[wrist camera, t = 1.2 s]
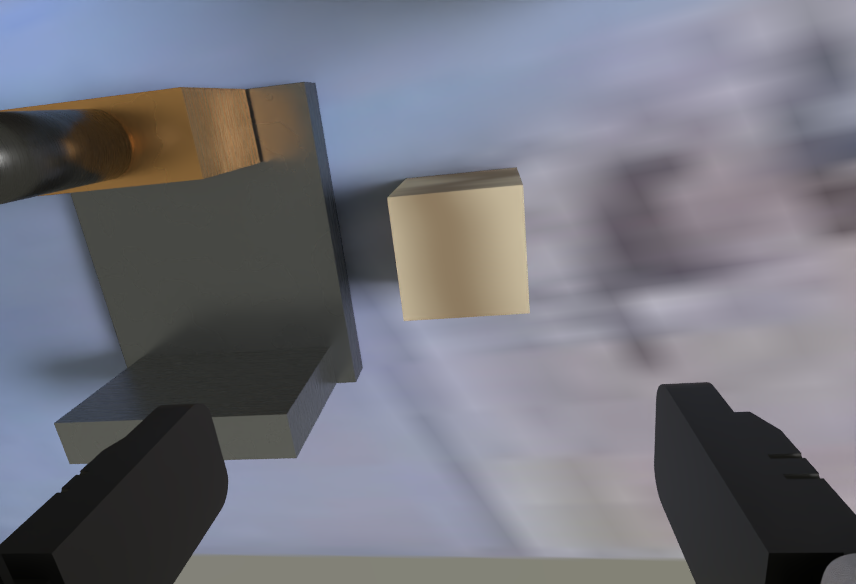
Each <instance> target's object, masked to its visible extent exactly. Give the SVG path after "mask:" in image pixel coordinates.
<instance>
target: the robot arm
mask: <svg viewBox="0 0 856 584" xmlns="http://www.w3.org/2000/svg"><path fill="white" fill-rule="evenodd" d="M654 471H655V479H656V485H657V490H658V494H659V498H660V501H661V503H662V506H663V508H664V511H665V513H666V515H667V517H668V520H669V522H670V524H671V527H672V529H673V531H674V534H675V536H676V538H677V541H678V543H679V545H680V548H681V550H682V552H683V555H684V557H685V559H686V562H687V564H688V566H689V568H690V571H691V573H692V575H693V578H694V580H695V582H696V584H856V515H855V513H854V512H853V511H852V510H851V509H850V508H849V507H848V506H847V504H846V503H845V502H844V501H843V500H842V499H841V498H840V497H839V495H838V494H837V493H836V492H835V491H834V490H833V489H832V488H831V486H830V485H829V484H828V483H827V482H826V481H825V480H824V478H822V479H820V477H819V473H818V472H817V471H816V469H815V468H814V467H813V466H812V465H811V464H810V463H809V462H808V460H807V459H806V458H802V456H801V452H800V451H799V450H798V449H797V448H796V447H795V446H794V445H793V443H792V442H791V441H790V440H789V439H788V438H787V437H786V436H785V434H784V433H783V432H782V431H781V430H780V429H778V428H776V427H775V426H773V425H771V424H769V423H768V422H766V421H764V420H763V419H761V418H759V417H758V416H756V415H754V414H753V413H751V412H733V410H732V409H731V408H730V406H729V405H728V404H727V403H726V401H725V400H724V399H723V398H722V396H721V395H720V394H719V392H718V391H717V390H716V389H715V387H714V386H713V385H712V384H711V383H708V382H703V383H680V384H661V385H660V386H659V387H658V390H657V397H656V424H655V454H654ZM80 472H81V473H80V475H75V476H74V477H73V478H72V479H71V480H70V481H69V482H68V483H67V484H66V485H64V486H63V487H62V491H61V493H56V494H55V495H54V496H52V497H51V498H50V499H49V500H48V501H47V502H46V503H45V504H44V505H43V506H42V507H40V508H39V509H38V510H37V511H36V512H35V513H34V514H33V515H32V516H31V517H30V518H28V519H27V520H26V521H25V522H24V523H23V524H22V525H21V526H20V527H19V528H18V529H16V530H15V531H14V532H13V533H12V534H11V535H10V536H9V537H8V538H7V539H6V540H5V541H3V542H2V543H1V544H0V584H173V583H174V582H175V580H176V579H177V577H178V576H179V574H180V573H181V571H182V569H183V568H184V566H185V565H186V563H187V562H188V560H189V558H190V557H191V556H192V554H193V552H194V551H195V549H196V548H197V546H198V545H199V543H200V542H201V540H202V539H203V537H204V535H205V534H206V532H207V531H208V529H209V528H210V526H211V525H212V523H213V521H214V520H215V518H216V517H217V515H218V514H219V512H220V511H221V509H222V507H223V505H224V503H225V499H226V496H227V490H228V475H227V470H226V467H225V463H224V459H223V456H222V452H221V448H220V445H219V441H218V437H217V434H216V430H215V426H214V423H213V419H212V416H211V413H210V411H209V409H208V408H207V407H206V406H205V405H204V404H201V403H194V404H172V405H161V406H159V407H157V408H156V409H154V410H153V411H152V412H151V413H150V414H149V415H148V416H147V417H146V418H145V419H144V420H143V421H142V422H141V423H140V424H138V425H137V426H136V427H135V428H134V429H133V430H132V431H131V432H130V433H129V434H128V435H127V436H126V437H124V438H122V439H121V440H119V441H118V442H116V443H114V444H113V445H111V446H109V447H108V448H106V449H104V450H103V451H102V452H100V453H99V454H98V455H97V456H96V457H95V458H94V459H93V460H92V461H91V462H90V463H88V464H87V465H86V466H85V467H84V468H83V469H82V470H81V471H80Z"/></svg>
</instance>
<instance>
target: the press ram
mask: <svg viewBox="0 0 856 584" xmlns="http://www.w3.org/2000/svg"><path fill="white" fill-rule="evenodd" d="M257 163H260V159H259V154H258V149H257V145H256V140H255V135H254V130H253V125H252V120H251V116H250V111H249V106H248V101H247V96H246V92H245V89H223V88H188V87H179V88H171V89H164V90H156V91H148V92H140V93H133V94H125V95H117V96H109V97H101V98H94V99H86V100H78V101H70V102H63V103H55V104H47V105H39V106H31V107H24V108H16V109H8V110H0V204H4V203H8V202H13V201H17V200H22V199H26V198H31V197H35V196H44V195H54V194H63V193H73V192H83V191H92V190H102V189H112V188H122V187H131V186H141V185H151V184H160V183H170V182H180V181H190V180H199V179H205V178H209V177H212V176H216V175H219V174H223V173H226V172H229V171H233V170H236V169H240V168H243V167H247V166H250V165H254V164H257Z"/></svg>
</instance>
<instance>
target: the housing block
mask: <svg viewBox="0 0 856 584" xmlns="http://www.w3.org/2000/svg"><path fill="white" fill-rule="evenodd" d="M387 200H388V208H389V215H390V222H391V230H392V237H393V245H394V252H395V259H396V267H397V274H398V281H399V289H400V296H401V304H402V311H403V318H404V321H411V320H428V319H444V318H460V317H477V316H493V315H509V314H525V313H530V311H529V292H528V273H527V253H526V234H525V215H524V196H523V184H522V181H521V178H520V175H519V173H518V170H517V168H507V169H497V170H487V171H477V172H467V173H457V174H446V175H436V176H426V177H416V178H406V179H405V180H404V181H403V182H402V183H401V184H400V185H399V186H398V187H397V188H396V189H395V190H394V191H393V192H392V193H391V194H390V195H389V196H388V197H387Z"/></svg>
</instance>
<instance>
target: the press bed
mask: <svg viewBox="0 0 856 584" xmlns="http://www.w3.org/2000/svg"><path fill="white" fill-rule="evenodd" d="M245 92H246V96H247V101H248V106H249V111H250V116H251V120H252V125H253V130H254V135H255V140H256V145H257V149H258V154H259V159H260V163H257V164H254V165H250V166H247V167H243V168H240V169H236V170H233V171H229V172H226V173H223V174H219V175H216V176H212V177H209V178H205V179H199V180H190V181H180V182H170V183H160V184H151V185H141V186H131V187H122V188H112V189H102V190H92V191H83V192H73V193H71V196H72V199H73V202H74V206H75V209H76V212H77V215H78V218H79V221H80V224H81V227H82V230H83V233H84V236H85V239H86V242H87V245H88V248H89V252H90V255H91V258H92V261H93V264H94V267H95V270H96V273H97V276H98V279H99V282H100V285H101V288H102V291H103V294H104V298H105V301H106V304H107V307H108V310H109V313H110V316H111V319H112V322H113V325H114V328H115V331H116V334H117V337H118V340H119V344H120V347H121V350H122V353H123V356H124V359H125V362H126V365H127V369H126V370H124V371H123V372H122V373H120V374H119V375H118V376H116V377H115V378H114V379H112V380H111V381H110V382H108V383H107V384H106V385H104V386H103V387H102V388H100V389H99V390H98V391H96V392H95V393H94V394H92V395H91V396H90V397H88V398H87V399H86V400H84V401H83V402H82V403H80V404H79V405H78V406H76V407H75V408H74V409H72V410H71V411H70V412H68V413H67V414H66V415H64V416H63V417H62V418H60V419H59V420H58V421H56V422H55V423H54V425H55V427H56V430H57V432H58V435H59V437H60V440H61V443H62V445H63V448H64V450H65V453H66V455H67V458H68V460H69V463H70V464H88V463H90V462H91V461H92V460H93V459H94V458H95V457H96V456H97V455H98V454H99V453H100V452H102V451H103V450H104V449H106V448H108V447H109V446H111V445H113V444H114V443H116V442H118V441H119V440H121V439H122V438H124V437H126V436H127V435H128V434H129V433H130V432H131V431H132V430H133V429H134V428H135V427H136V426H137V425H138V424H140V423H141V422H142V421H143V420H144V419H145V418H146V417H147V416H148V415H149V414H150V413H151V412H152V411H153V410H154V409H156V408H157V407H159V406H161V405H172V404H194V403H201V404H204V405H205V406H206V407H207V408H208V409H209V411H210V413H211V416H212V419H213V423H214V426H215V430H216V434H217V437H218V441H219V445H220V448H221V452H222V456H223V459H224V460H240V459H278V458H297V456H298V454H299V452H300V451H301V449H302V447H303V445H304V443H305V441H306V439H307V437H308V436H309V434H310V432H311V430H312V428H313V426H314V424H315V422H316V421H317V419H318V417H319V415H320V413H321V411H322V409H323V407H324V406H325V404H326V402H327V400H328V398H329V396H330V394H331V392H332V391H333V389H334V387H335V385H336V383H346V382H356V381H357V379H358V377H359V375H360V372H361V370H362V368H363V367H362V361H361V355H360V349H359V343H358V337H357V331H356V325H355V319H354V313H353V307H352V301H351V295H350V289H349V283H348V277H347V271H346V265H345V259H344V253H343V247H342V241H341V235H340V229H339V223H338V217H337V211H336V205H335V199H334V193H333V187H332V181H331V175H330V169H329V163H328V157H327V151H326V145H325V139H324V133H323V127H322V121H321V115H320V109H319V103H318V97H317V91H316V85H315V83H311V82H300V83H292V84H284V85H276V86H268V87H261V88H253V89H245Z"/></svg>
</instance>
